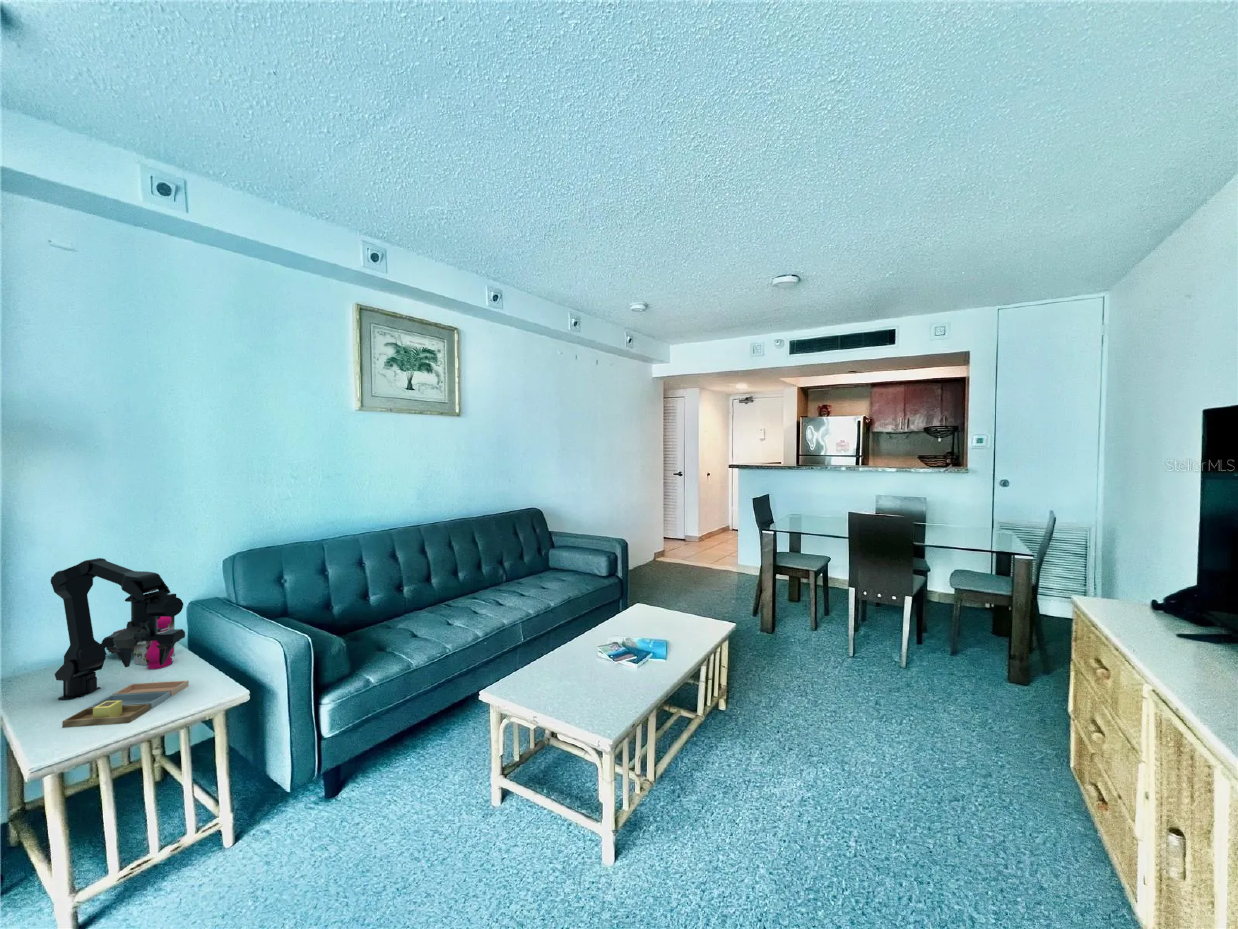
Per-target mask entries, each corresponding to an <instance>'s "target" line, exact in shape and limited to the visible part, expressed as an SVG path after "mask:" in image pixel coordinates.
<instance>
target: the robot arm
mask: <svg viewBox="0 0 1238 929" xmlns="http://www.w3.org/2000/svg"><path fill="white" fill-rule="evenodd" d="M96 577H98V578H100V579H102V580H106V581H107V582H108V581H109V582H110V583H114V584H116V585H119V586H120V587H121V590H122V591H123V592H124V593H126V594H128V595H129V596H128V597H126V598H125V599H124V602H126V603H127V602H130V620H129V621H127V623H126V629H125V630H124V631H122V632H117V633H115V634H113V633H112V634H113V635H111V634H110V635H108V636H106V637H105V636H104V638H103V640H101V643H100V642H98V641H97V640H96V639H95V636H94V632H93V631H94V630H93V629H94V628H93V624H92V617H91V616H92V615H91V611H90V605H89V604H90V603H89V598H88V593H89V592H90V591H91V589H92V587H93V585H94V578H96ZM50 584H51V587H52V590H53V593H55V595H57V596H59V598H61V599H62V601H63V607H64V614H65V620H66V626H67V632H68V640H69V647H68V649H67V650H66V651H65V653H64V655H63V664H62V665H61V666H60V667H59V668H58V669H57V670H56V672H55V673H54V676H55V679H56V681H63V684H62V686H63V692H62V693H63V694H62V696H59V697H57V700H73V699H78V698H84V697H85V696H87V695H90V694H91V693H93V692H95V691H98V690H100V689H101V687H100V686H98V677H97V676H96V675H97V673H96V672H97V671H100V670H102V669H103V666H104V663H105V661H106V657H107V655H108V654H107V651H108V650H112V651H114V652H116V653H115V654H117V656H118V658H119V660H121V663H122V664H123V666H124V668H129V667H130V665H131V662H132V654H133V653H132V648H133V647H134V646H136V645H137V643H138V642H143V641H155V640H157V643H159V645H157V646H156V647H157V648H158V649H159V663H160V665H163V664H164V663H165V661H166V659H167V657H168V655H169V653H170V651H171V649H172V648H173V646H174V647H175V645H176V643H177V642H180V641H181V640H182V639H184V638H185V637H186V632H185V630H184V629H183V628H180V629H179V628H176V629H175V628H174V630H168V631H166V632H164V633H162V634H157V633H158V632H160V631H161V628H157V620H158V619H160V618H161V617H174V616H175V617H176V616H178V615H180V614H181V612H182V610H183V608H184V602H183V601H182V599H181V598H180V597H177V593H171V590H170V588H169V586H168V585H167V584H166V583H165V581H164V580H163V578H162V577H161V575H160V574H159V573H157V572H153V571H136V570H132V569H130V568H126V567H124V566H121V565H119V564H116V563H113V562H111V561H108V560H107V559H105V558H101V557H99V558H98V557H97V558H92V559H86V560H83V561H81V562H79V563H78V564H75V565H73V566H70V567H67V568H65V569H63V570H58V571H56V572H55V573H54V574H53V575H52V576H51V577H50ZM149 637H151V638H149ZM106 648H107V649H106ZM106 650H107V651H106Z"/></svg>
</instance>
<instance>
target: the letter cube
mask: <svg viewBox="0 0 1238 929" xmlns="http://www.w3.org/2000/svg"><path fill="white" fill-rule="evenodd" d="M121 714H122V700H117V701H105V702H104V703H102V704H100V705H98V706H96V707H94V708H93V718H105V717H118V716H120V715H121Z"/></svg>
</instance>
